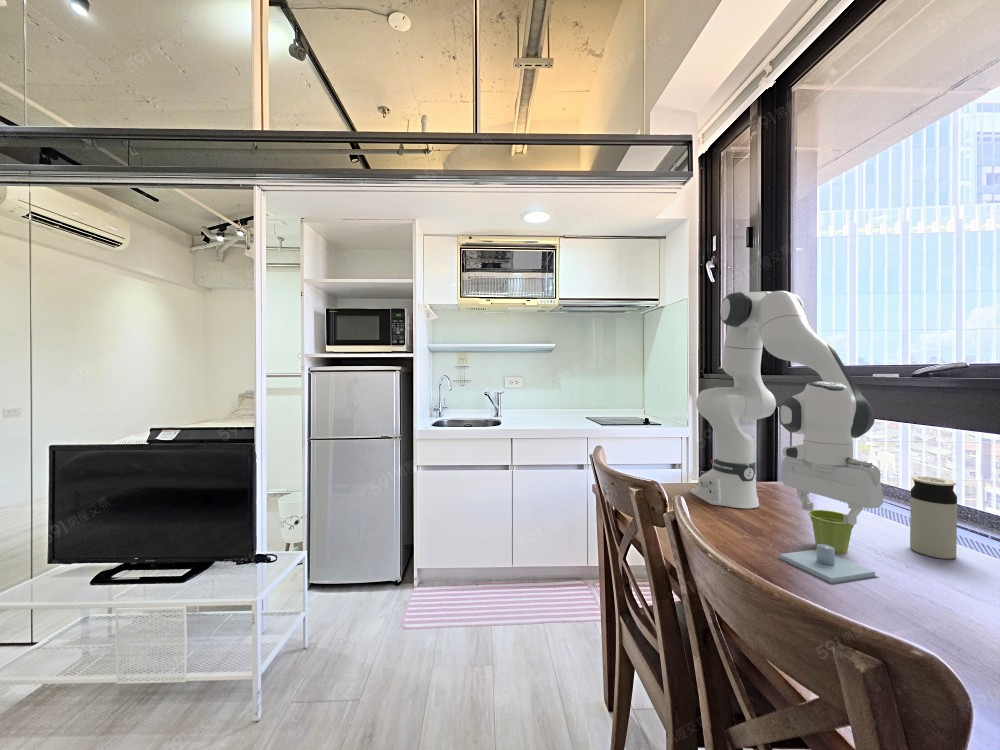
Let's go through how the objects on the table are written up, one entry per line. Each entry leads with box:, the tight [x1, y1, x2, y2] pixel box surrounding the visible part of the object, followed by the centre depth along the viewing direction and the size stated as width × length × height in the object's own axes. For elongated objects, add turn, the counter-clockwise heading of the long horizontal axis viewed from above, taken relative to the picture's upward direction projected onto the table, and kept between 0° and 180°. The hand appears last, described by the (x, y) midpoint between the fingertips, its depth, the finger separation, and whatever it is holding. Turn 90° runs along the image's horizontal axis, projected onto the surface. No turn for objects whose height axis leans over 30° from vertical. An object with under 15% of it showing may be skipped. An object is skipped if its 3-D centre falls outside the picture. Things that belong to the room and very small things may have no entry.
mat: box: [777, 556, 880, 586], centre depth 95 cm, size 13×13×1 cm
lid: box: [779, 544, 876, 583], centre depth 95 cm, size 12×12×4 cm
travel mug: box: [909, 475, 958, 560], centre depth 104 cm, size 8×8×18 cm
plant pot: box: [808, 509, 855, 555], centre depth 105 cm, size 9×9×9 cm
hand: (827, 516), depth 95 cm, fingers open, 8 cm apart
